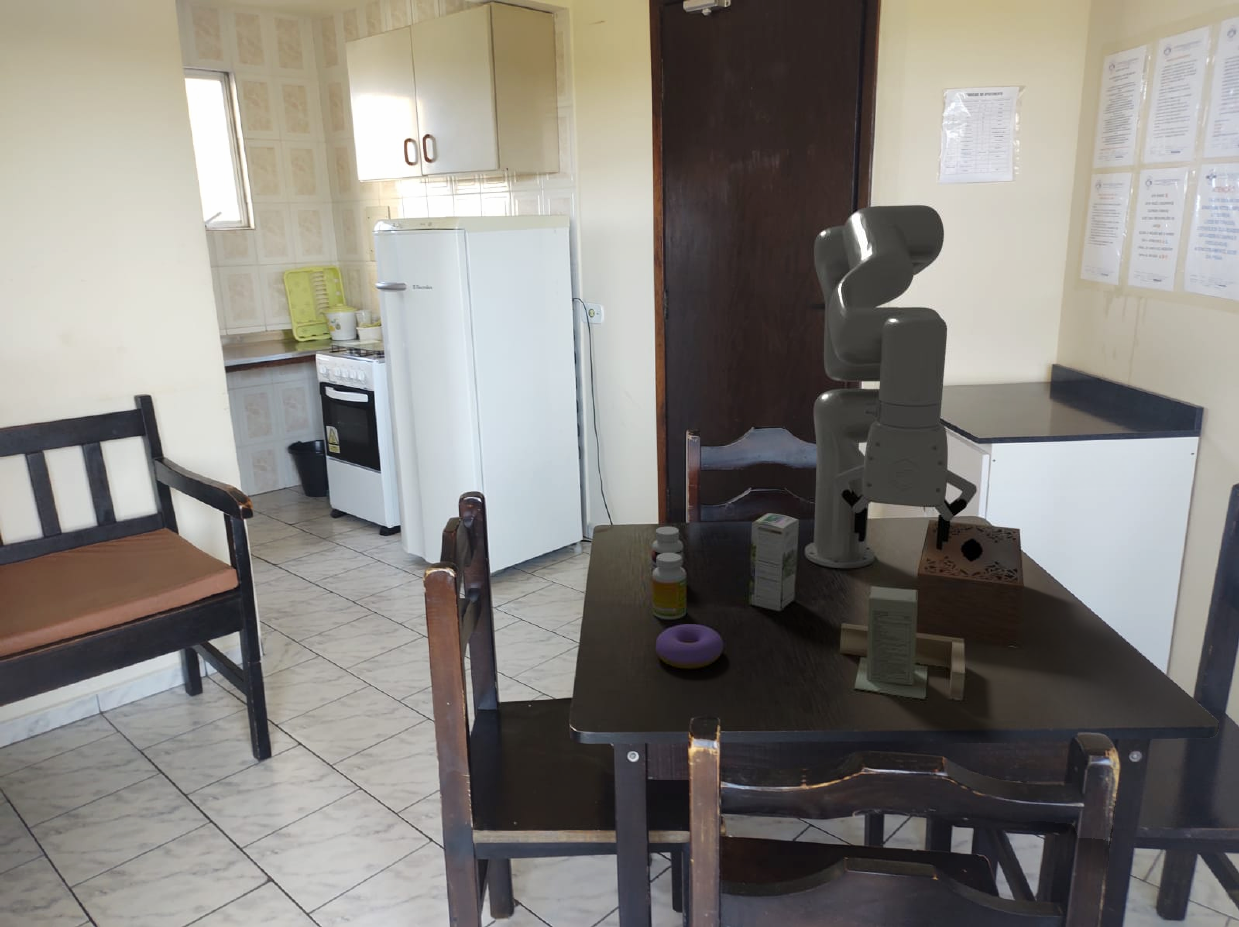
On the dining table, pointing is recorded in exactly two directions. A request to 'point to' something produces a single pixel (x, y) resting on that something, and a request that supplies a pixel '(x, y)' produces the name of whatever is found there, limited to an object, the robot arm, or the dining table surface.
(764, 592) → the syrup box
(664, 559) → the supplement bottle
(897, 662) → the skincare box
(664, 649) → the donut
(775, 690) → the dining table surface
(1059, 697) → the dining table surface
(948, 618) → the tissue box cover
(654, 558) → the pill bottle
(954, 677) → the corner arena
